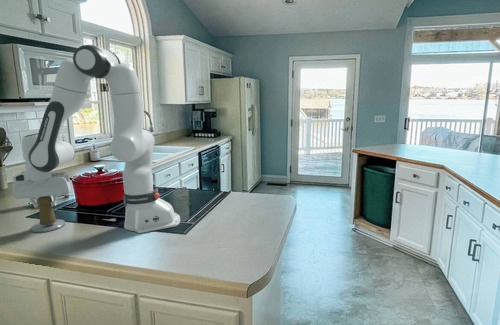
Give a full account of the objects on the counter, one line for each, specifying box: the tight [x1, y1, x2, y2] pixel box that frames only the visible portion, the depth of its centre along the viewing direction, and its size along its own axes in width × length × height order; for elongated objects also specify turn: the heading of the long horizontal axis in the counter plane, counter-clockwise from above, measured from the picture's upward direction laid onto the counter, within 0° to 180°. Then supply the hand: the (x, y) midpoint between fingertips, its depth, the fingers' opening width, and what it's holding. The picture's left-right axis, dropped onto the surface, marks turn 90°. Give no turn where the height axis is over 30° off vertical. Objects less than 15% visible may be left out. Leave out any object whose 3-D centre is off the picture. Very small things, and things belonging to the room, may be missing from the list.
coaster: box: [30, 218, 66, 234], centre depth 134 cm, size 12×12×1 cm
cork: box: [37, 196, 57, 225], centre depth 133 cm, size 6×6×11 cm
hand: (45, 206), depth 132 cm, fingers closed on cork, 5 cm apart
